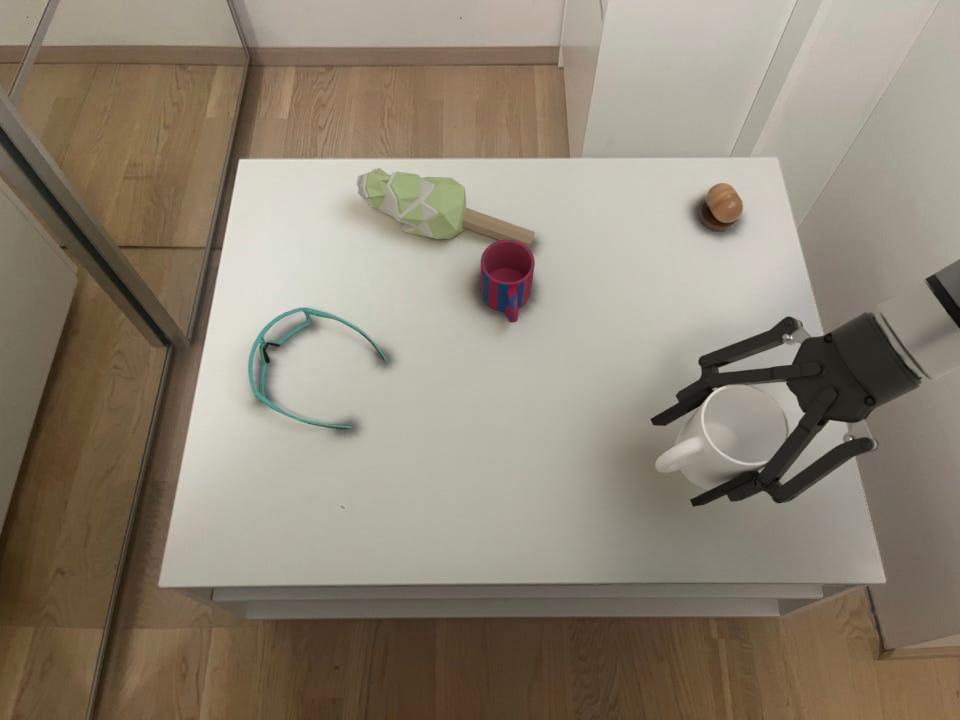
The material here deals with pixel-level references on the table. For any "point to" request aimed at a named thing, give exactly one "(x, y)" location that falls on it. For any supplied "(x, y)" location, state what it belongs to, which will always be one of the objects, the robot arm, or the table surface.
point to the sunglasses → (265, 344)
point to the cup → (507, 276)
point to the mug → (727, 437)
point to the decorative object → (432, 206)
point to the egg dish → (721, 208)
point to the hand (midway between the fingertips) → (677, 461)
